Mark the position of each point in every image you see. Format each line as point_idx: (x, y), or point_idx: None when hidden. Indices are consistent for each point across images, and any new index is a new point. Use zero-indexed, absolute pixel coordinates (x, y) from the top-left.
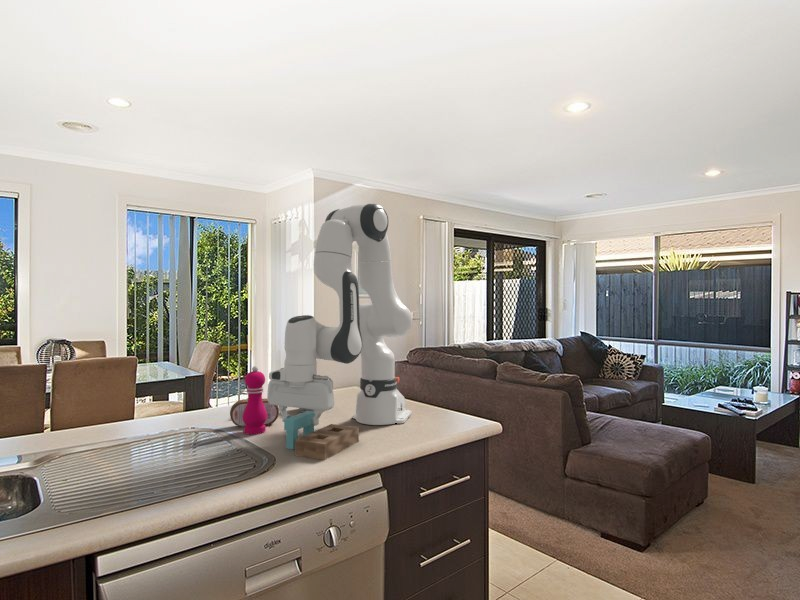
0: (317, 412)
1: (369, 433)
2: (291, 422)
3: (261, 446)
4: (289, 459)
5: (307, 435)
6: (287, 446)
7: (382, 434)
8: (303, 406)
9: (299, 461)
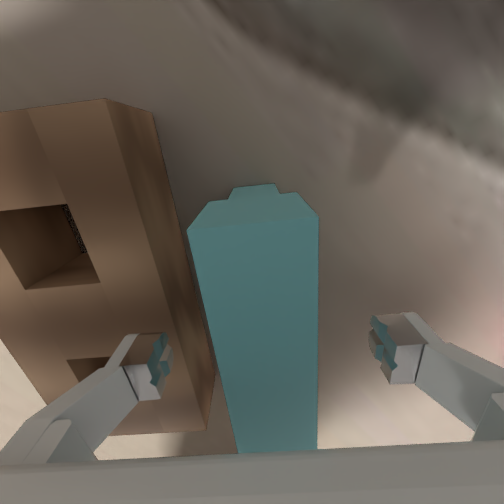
0: (24, 435)
1: (147, 443)
2: (218, 219)
3: (421, 145)
4: (118, 29)
5: (134, 238)
6: (267, 186)
7: (108, 449)
8: (149, 487)
9: (44, 31)
